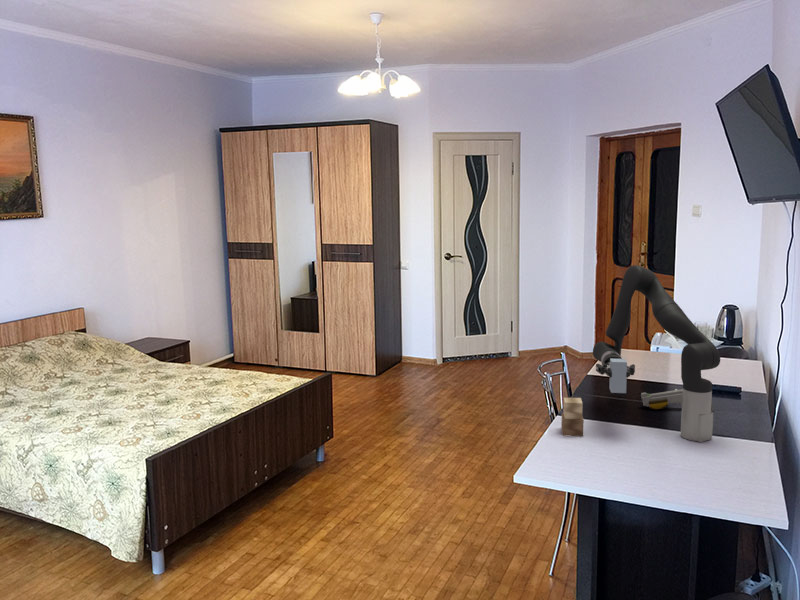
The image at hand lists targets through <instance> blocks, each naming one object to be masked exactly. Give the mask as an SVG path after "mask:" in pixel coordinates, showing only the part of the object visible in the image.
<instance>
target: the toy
mask: <svg viewBox="0 0 800 600" xmlns="http://www.w3.org/2000/svg"><path fill="white" fill-rule="evenodd" d="M640 393H641V394H640V397H641V403H642V405H643V406H644V407H648V408H649V409H652V410H659V409H660V410H661V409H665V408H666V407H668V406H669V404H674V405H677V404H679V406H682V394H683V388H681V389H677V390H675V389H673V390H668V391H662V392H655V393H647V392H640ZM713 411H714V405H713V400H712V399H711V412H713Z"/></svg>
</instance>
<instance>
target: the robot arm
mask: <svg viewBox="0 0 800 600" xmlns="http://www.w3.org/2000/svg"><path fill="white" fill-rule="evenodd" d="M636 291H637V292H638V293H639V292H640V293H641V294H642V295H643V296H645V298H646V299H647V300H648V301H649V302H650V304H651V309H652V310H651V311H652V315H653V317H654V319H655V320H656V321H657V323H658V324H659V325H660V327H661V329H664V331H666V332H667V333H668V334H670V335H672V336H674V337H675V338H678V339H679V340H681V341H683V342H684V343H685V344H686V345H684V347H683V348H682V350H681V357H680V364H681V367H680V369H681V370H680V373H681V374H680V375H681V376H680V379H681V381H682V389H683V394H682V405H681V416H680V417H681V419H680V437H681V438H683V439H685V440H689V441H693V442H699V443H702V442H703V443H704V442H706V441H710V440H713V428H714V427H713V425H714V412H713V411H712V412H711V399H712V397H713V394H712V393H713V382H712V381H711V380H710V379H706V378H703V377H702V371H707V370H713V369H715V368H717V367H719V366H720V363H721V354H720V351H719V350H718V348H717V347H716V345H715V344H714V343H713V342H712V341H711V340H710V339H709V338H708V337H707V336H706V335H705V334H704V333H702V332H701V330H700V329H699V328H698V327H697V326H696V325H695V324H694V322H692V321H691V319H690V318H689V317H688V316H687V314H686V313H685V311H684V310H683V309H682V308H681V307H680V305H679V304H678V303H677V302H676V301H675V300H674V299H673V297H672V296H671V295H670V294H669V293H668V292H667V290H665V288H664V287H663V285H662V283H661V282H660V280H659V278H658V277H657V276H656V273H654V272H653V271H652V270H651V269H648V268H645V267H643V266H640V265H638V264H634V265H631V266H629V267H628V268H627V269H626V271H625V273H624V275H623V277H622V281H621V286H620V289H619V293H618V298H617V301H616V305H615V309H614V311H613V314H612V317H611V319H610V322H609V323H608V325H607V328H606V331H605V336H606V337H608V339H611V340H612V341H613V343H614V345H612V344H611V343H607V342H604V341H598V342H596V343H595V344H594V346H593V349H592V355H593V357H594V359H595V360H597V361H598V362H600V363H601V364H599V363H596V364H595V371H596V372H597V373H598V374H599V375H603V376H604V375H606V376H607V377H609V378H610V377H612V371H611V369H610V359H623V358H622V356H621V354H622V346H623V341H624V337H625V335H626V333H627V331H628V329H629V326H630V322H631V320H632V319H631V316H632V313H631V312H632V310H631V305H632V299H633V296H634V294H635V292H636ZM635 373H636V365H635V364H634V363H633V364H630V365H627V375H626V378H629V377H631V376H634V375H635Z"/></svg>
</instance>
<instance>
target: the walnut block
mask: <svg viewBox="0 0 800 600" xmlns="http://www.w3.org/2000/svg"><path fill="white" fill-rule="evenodd" d="M584 420H585V419H584V416H582V420H579V419H565V418H564V414H563V412H561V426H560V427H561V428H560V429H561V434H562V433H563V434H562V436H566V435H571V436H572V437H584V423H585V422H584Z"/></svg>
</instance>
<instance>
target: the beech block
mask: <svg viewBox="0 0 800 600" xmlns="http://www.w3.org/2000/svg"><path fill="white" fill-rule="evenodd" d="M562 411H563V412H562V413H563V414H564V418H565V419H579V420H582V417H583V401H582V398H581V397H563V410H562Z"/></svg>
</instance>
